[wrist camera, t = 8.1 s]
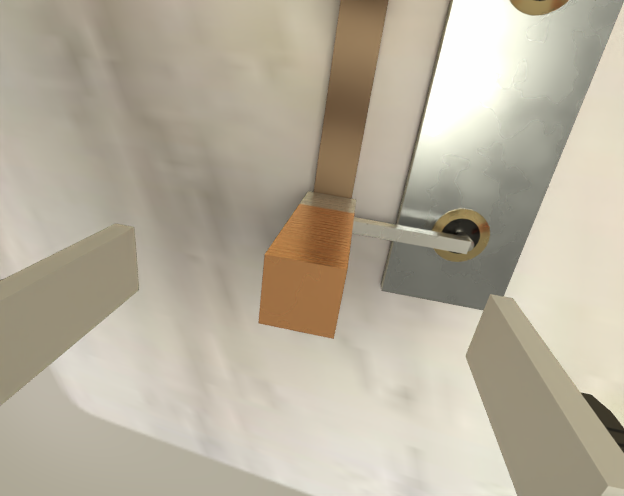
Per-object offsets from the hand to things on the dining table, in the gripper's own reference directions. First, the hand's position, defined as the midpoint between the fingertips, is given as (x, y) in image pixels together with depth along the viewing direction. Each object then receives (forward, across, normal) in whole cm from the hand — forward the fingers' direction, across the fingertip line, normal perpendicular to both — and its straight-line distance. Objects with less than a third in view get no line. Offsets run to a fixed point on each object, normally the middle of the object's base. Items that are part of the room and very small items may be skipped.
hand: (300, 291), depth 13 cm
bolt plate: (+12, +9, +6) cm, 16 cm away
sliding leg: (+11, +4, 0) cm, 11 cm away
